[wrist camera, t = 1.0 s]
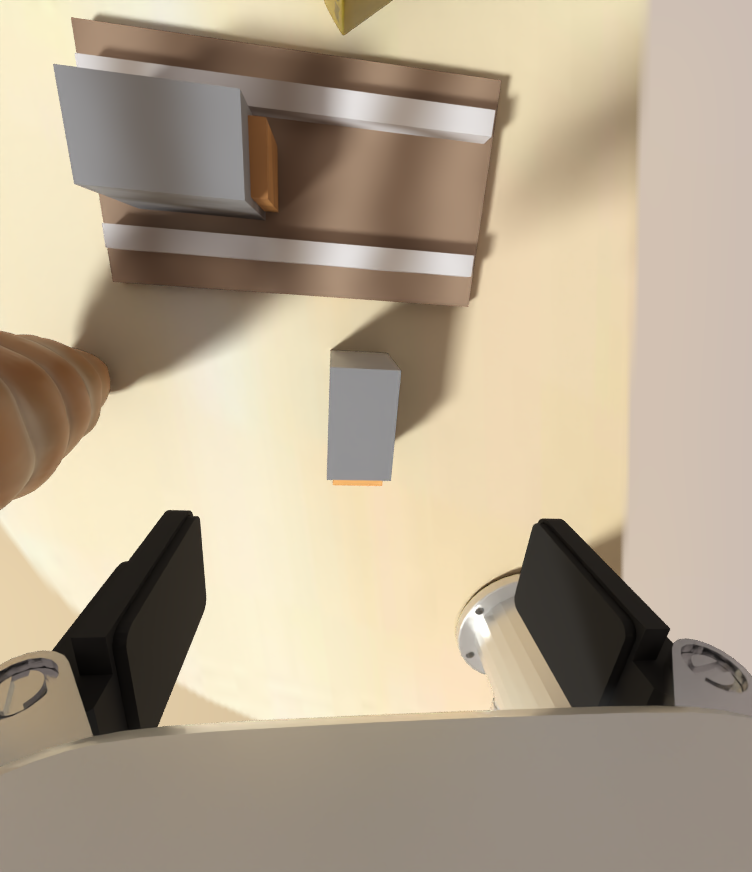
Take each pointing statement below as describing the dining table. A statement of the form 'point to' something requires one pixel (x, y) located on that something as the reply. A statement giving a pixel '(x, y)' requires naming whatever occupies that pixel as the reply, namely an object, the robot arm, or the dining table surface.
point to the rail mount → (278, 165)
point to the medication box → (352, 12)
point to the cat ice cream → (43, 408)
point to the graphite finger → (362, 417)
